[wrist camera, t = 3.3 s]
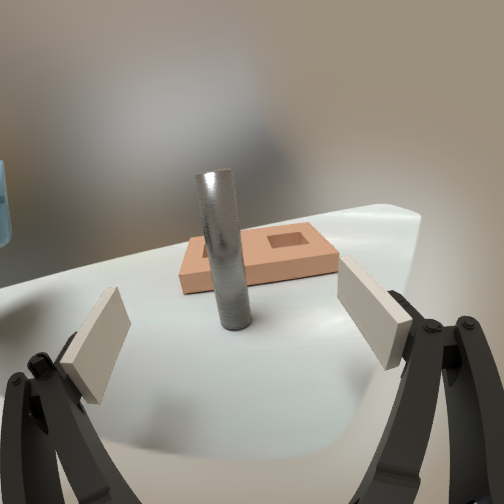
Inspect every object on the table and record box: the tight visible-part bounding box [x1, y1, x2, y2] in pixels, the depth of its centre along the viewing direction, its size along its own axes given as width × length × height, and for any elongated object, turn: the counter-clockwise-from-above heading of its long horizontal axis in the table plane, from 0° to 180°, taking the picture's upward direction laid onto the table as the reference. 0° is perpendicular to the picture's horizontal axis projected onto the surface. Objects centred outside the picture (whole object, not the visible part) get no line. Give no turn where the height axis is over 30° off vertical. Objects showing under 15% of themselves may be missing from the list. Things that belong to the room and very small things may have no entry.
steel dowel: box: [195, 168, 252, 330], centre depth 23 cm, size 3×3×14 cm
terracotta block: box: [179, 222, 339, 294], centre depth 38 cm, size 19×13×2 cm
